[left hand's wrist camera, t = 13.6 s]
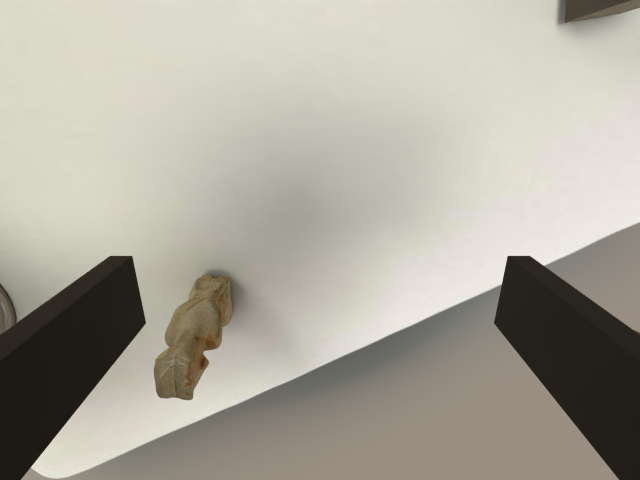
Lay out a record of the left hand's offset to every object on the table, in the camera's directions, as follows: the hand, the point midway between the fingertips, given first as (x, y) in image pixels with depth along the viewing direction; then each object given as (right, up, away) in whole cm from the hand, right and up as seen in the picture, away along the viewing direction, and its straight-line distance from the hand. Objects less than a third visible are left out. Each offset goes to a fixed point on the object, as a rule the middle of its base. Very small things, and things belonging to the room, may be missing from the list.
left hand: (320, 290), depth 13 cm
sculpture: (-13, -5, +33) cm, 36 cm away
